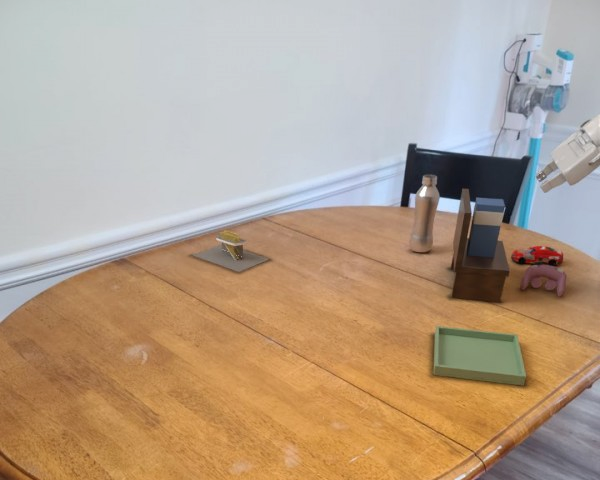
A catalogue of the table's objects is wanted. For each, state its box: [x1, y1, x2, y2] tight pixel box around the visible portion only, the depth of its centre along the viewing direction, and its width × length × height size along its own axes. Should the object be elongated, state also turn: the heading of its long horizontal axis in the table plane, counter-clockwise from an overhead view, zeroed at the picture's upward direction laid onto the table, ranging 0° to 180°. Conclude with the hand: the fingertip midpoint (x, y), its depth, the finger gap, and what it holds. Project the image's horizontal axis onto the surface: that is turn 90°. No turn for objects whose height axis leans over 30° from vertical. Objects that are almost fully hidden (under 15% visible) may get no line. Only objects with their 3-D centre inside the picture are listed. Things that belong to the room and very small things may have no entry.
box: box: [467, 197, 506, 258], centre depth 132 cm, size 6×6×12 cm
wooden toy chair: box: [450, 188, 511, 304], centre depth 134 cm, size 12×20×20 cm, turn 168°
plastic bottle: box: [408, 174, 441, 253], centre depth 152 cm, size 6×7×20 cm
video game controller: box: [520, 264, 568, 297], centre depth 136 cm, size 10×5×7 cm, turn 65°
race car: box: [510, 245, 564, 267], centre depth 151 cm, size 13×5×4 cm, turn 80°
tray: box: [433, 325, 527, 386], centre depth 110 cm, size 16×16×2 cm
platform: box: [192, 229, 270, 273], centre depth 151 cm, size 12×18×7 cm, turn 50°
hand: (539, 184), depth 125 cm, fingers open, 8 cm apart
